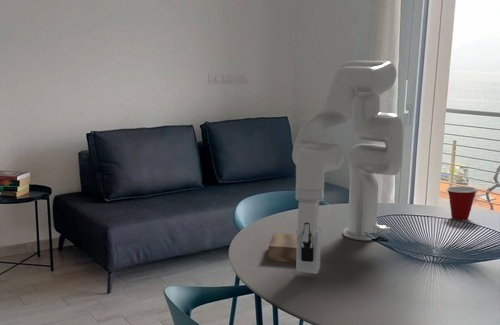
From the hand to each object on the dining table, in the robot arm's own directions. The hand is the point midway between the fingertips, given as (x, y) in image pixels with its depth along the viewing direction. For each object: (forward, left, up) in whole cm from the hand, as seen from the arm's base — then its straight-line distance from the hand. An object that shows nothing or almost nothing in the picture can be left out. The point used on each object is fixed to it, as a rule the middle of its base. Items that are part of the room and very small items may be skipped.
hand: (308, 256), depth 149 cm
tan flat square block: (+7, -15, -6) cm, 18 cm away
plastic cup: (-50, -70, -6) cm, 87 cm away
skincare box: (0, 0, -4) cm, 4 cm away
